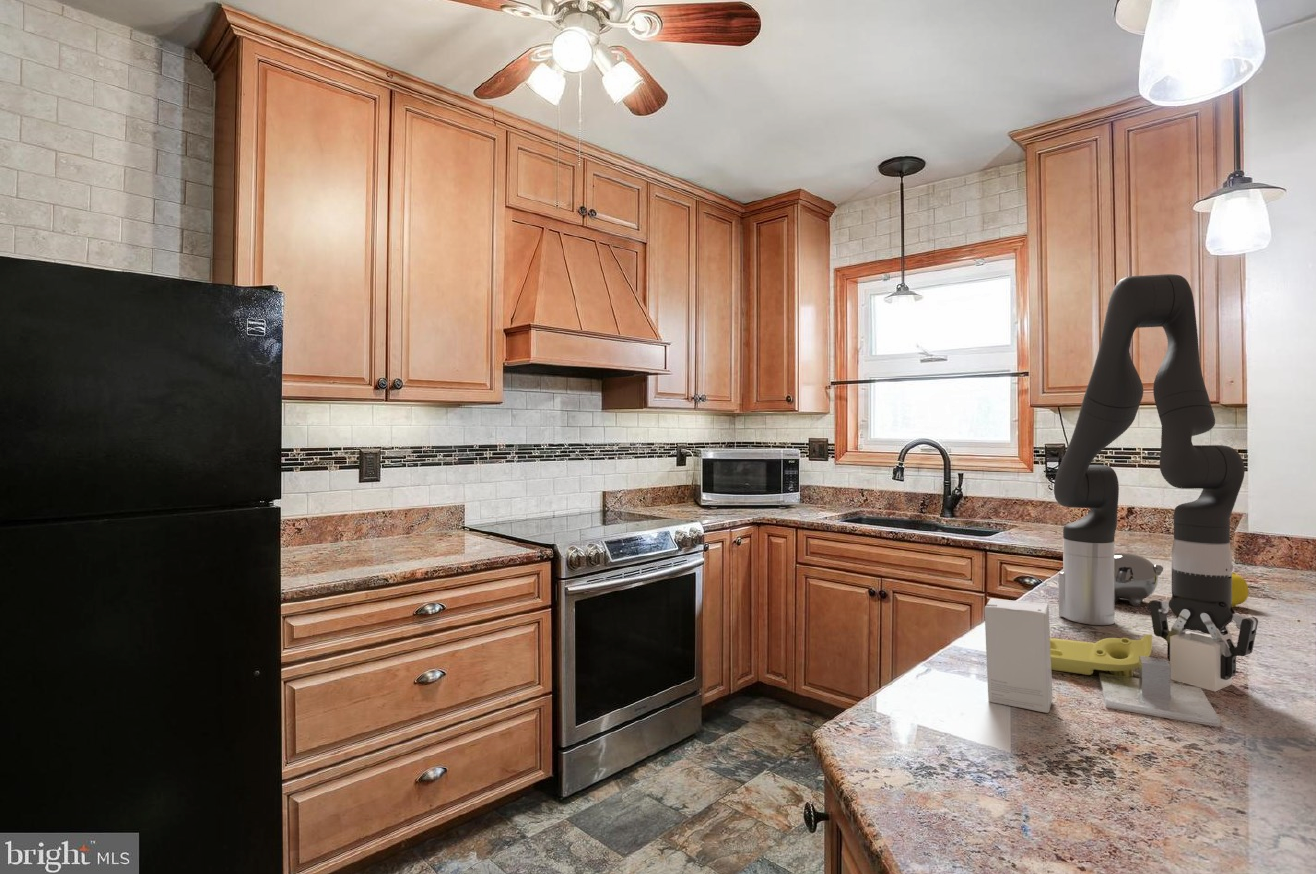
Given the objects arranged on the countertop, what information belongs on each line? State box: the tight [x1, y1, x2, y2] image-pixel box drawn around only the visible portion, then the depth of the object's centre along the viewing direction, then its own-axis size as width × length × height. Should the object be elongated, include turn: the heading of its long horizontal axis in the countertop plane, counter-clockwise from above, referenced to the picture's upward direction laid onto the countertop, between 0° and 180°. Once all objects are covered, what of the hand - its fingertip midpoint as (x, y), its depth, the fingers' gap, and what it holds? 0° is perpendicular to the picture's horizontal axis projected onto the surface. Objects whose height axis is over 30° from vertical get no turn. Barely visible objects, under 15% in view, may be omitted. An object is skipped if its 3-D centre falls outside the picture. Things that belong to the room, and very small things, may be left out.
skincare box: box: [984, 597, 1053, 714], centre depth 99 cm, size 8×6×15 cm
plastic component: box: [1050, 633, 1153, 677], centre depth 113 cm, size 20×7×10 cm
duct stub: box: [1099, 656, 1221, 728], centre depth 99 cm, size 13×13×6 cm
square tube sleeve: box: [1169, 630, 1233, 692], centre depth 106 cm, size 6×6×7 cm
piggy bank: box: [1114, 552, 1164, 607], centre depth 156 cm, size 11×15×12 cm
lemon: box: [1231, 571, 1250, 608], centre depth 151 cm, size 6×6×8 cm
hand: (1200, 671), depth 106 cm, fingers closed on square tube sleeve, 6 cm apart
